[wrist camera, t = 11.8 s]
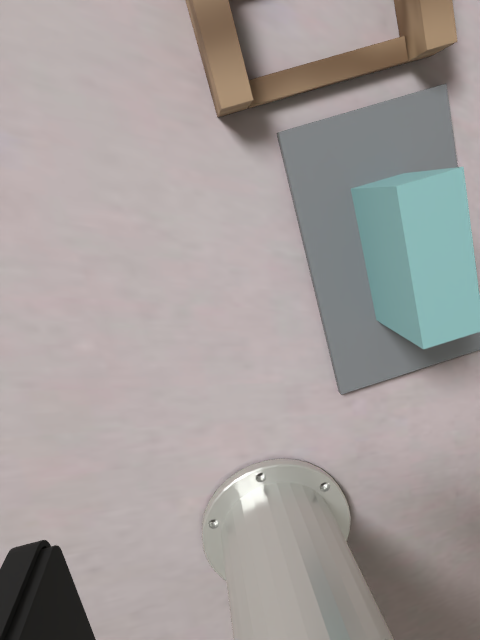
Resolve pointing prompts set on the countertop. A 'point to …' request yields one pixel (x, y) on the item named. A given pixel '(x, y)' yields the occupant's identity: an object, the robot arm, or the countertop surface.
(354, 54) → the frame
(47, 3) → the countertop surface
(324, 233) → the mat
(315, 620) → the robot arm
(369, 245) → the block
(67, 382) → the countertop surface
